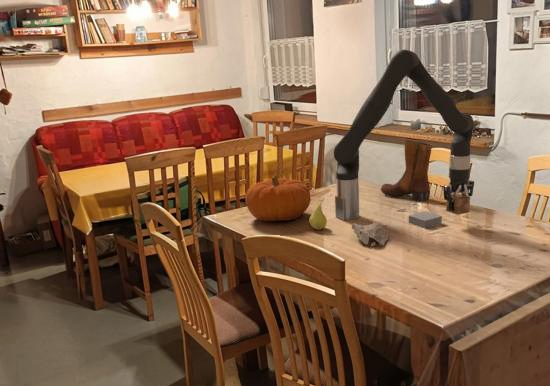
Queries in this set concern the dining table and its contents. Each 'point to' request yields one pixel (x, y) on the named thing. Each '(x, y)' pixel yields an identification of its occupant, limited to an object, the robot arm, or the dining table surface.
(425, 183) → the boot
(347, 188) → the robot arm
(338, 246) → the dining table surface
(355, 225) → the stone
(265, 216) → the pumpkin
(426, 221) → the slate block
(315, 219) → the fruit
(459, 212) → the walnut cube
